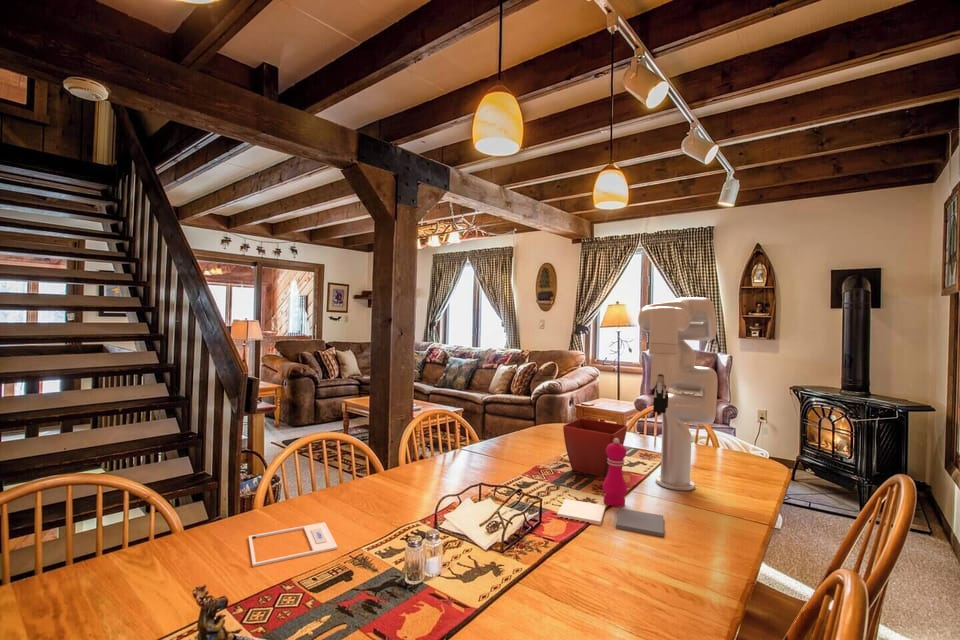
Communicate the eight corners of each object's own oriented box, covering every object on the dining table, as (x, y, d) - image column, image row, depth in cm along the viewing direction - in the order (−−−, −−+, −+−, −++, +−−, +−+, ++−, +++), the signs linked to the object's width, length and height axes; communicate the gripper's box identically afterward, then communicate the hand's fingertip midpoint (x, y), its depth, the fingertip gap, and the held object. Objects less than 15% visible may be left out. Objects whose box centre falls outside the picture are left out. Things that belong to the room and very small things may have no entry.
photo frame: (337, 545, 109) (252, 563, 101) (337, 550, 109) (252, 568, 101) (324, 521, 122) (248, 535, 113) (324, 525, 122) (248, 539, 113)
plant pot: (626, 468, 178) (628, 424, 178) (611, 482, 162) (613, 434, 162) (578, 459, 188) (580, 417, 188) (560, 471, 172) (561, 425, 172)
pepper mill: (627, 509, 139) (630, 442, 139) (602, 506, 140) (605, 440, 140) (625, 500, 146) (627, 436, 146) (601, 497, 148) (603, 434, 148)
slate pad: (619, 511, 137) (619, 508, 137) (663, 519, 133) (663, 515, 133) (615, 527, 126) (615, 524, 126) (663, 536, 121) (663, 533, 121)
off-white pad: (565, 501, 143) (565, 498, 143) (605, 509, 138) (605, 505, 138) (557, 517, 132) (557, 513, 132) (600, 525, 127) (600, 521, 127)
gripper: (651, 348, 142) (649, 404, 142) (645, 350, 127) (643, 413, 126) (678, 349, 139) (676, 407, 139) (675, 351, 123) (673, 416, 123)
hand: (660, 409), depth 133 cm, fingers open, 9 cm apart
